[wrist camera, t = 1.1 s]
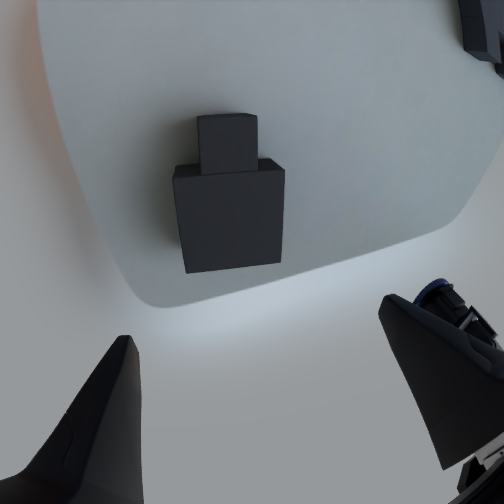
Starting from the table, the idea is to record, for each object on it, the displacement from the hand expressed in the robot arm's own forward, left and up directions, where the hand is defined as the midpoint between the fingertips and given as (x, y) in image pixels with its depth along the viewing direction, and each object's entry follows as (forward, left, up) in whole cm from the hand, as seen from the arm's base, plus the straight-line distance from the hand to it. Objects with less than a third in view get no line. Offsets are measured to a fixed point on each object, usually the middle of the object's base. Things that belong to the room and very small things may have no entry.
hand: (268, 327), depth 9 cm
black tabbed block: (+1, 0, -11) cm, 11 cm away
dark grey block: (+21, -27, -11) cm, 36 cm away
